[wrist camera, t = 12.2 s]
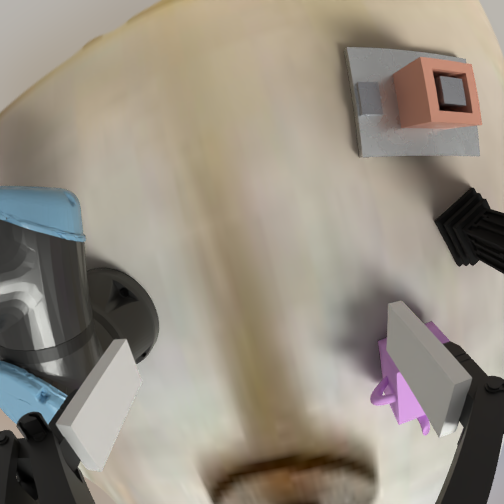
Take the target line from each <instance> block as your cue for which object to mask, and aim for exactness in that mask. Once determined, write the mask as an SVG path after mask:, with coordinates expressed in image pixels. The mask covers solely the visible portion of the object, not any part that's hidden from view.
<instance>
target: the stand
mask: <svg viewBox="0 0 504 504" xmlns="http://www.w3.org/2000/svg"><path fill="white" fill-rule="evenodd" d="M344 54H345V59H346V65H347V71H348V76H349V82H350V89H351V95H352V102H353V109H354V116H355V124H356V132H357V141H358V150H359V157H381V156H480V150H479V139H478V129H477V126H468V127H460V128H451V129H431V128H401V123H400V116H399V109H398V102H397V96H396V90H395V84H394V79H393V74H394V73H395V72H397V71H398V70H400V69H401V68H403V67H405V66H406V65H408V64H409V63H411V62H412V61H414V60H416V59H417V58H419V57H427V58H435V59H442V60H449V61H455V62H461V63H466V59H463V58H457V57H452V56H446V55H439V54H432V53H425V52H417V51H407V50H397V49H384V48H365V47H346V49H345V50H344ZM434 81H435V86H436V92H437V98H438V104H439V111H444V110H449V109H453V108H457V107H462V106H466V100H465V94H464V88H463V82H462V79H459V78H452V77H444V76H439V77H436V78H434Z"/></svg>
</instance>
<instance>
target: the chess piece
mask: <svg viewBox="0 0 504 504" xmlns="http://www.w3.org/2000/svg"><path fill="white" fill-rule="evenodd" d="M434 222H435V223H436V225H437V227H438V229H439V231H440V233H441V234H442V236H443V238H444V240H445V242H446V244H447V246H448V248H449V250H450V252H451V254H452V256H453V258H454V260H455V262H456V264H457V265H458V266H461V265H462V264H463V265H465V266H467V265H468V264H469V263H470V264H471V265H473V266H474V265H475V264H476V263H477V262H478V261H479V260H480V261H482V262H484V263H486V264H487V265H489V266H491V267H493V268H495V269H496V270H498V271H500V272H502V273H503V274H504V213H501V212H498V211H495V210H491V209H490V207H489V204H488V202H487V200H486V199H482V196H481V194H480V193H476V191H475V189H474V188H470V189H469V190H468V191H467V192H466V193H465V194H464V195H463V196H462V197H461V198H460V199H459V200H458V201H456V202H455V203H454V204H453V205H452V206H451V207H450V208H449V209H448V210H447V211H445V212H444V213H443V214H442V215H441V216H440V217H439V218H438V219H436V220H435V221H434Z"/></svg>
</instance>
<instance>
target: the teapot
mask: <svg viewBox="0 0 504 504" xmlns="http://www.w3.org/2000/svg"><path fill="white" fill-rule="evenodd" d="M425 326H426V327H427V328H428V329H429V330H430V331H431V332H432V333H433V334H434V335H435V336H436V337H437V339H438V340H439V341H440V342H441V343H442V344H443V343H447V342H450V341H449V339H448V338H447V337H446V336H445V335H444V334H443V333H442V332H441V331H440V330H439V328H438V327H437V326H436V325H435V324H434V323H433V322H432V321H431V322H428V323H426V324H425ZM378 346H379V353H380V361H381V369H382V378H383V380H382V381H381V382H380V383H379V384H378V385H377V387H376V388H375V389H374V391H373V392H372V395H371V398H370V400H371V403H372V404H374V405H385V404H390V406H391V408H392V411H393V413H394V415H395V417H396V420H397V422H398V424H399V425H400V424H402V423H405V422H407V421H410V420H413V419H415V418H417V419H418V421H419V423H420V425H421V428H422V432H423V435H427V434H428V433H429V430H430V425H429V419H428V418H427V416H426V414H425V412H424V411H423V409H422V407H421V406H420V404H419V402H418V401H417V399H416V397H415V396H414V394H413V392H412V391H411V389H410V387H409V386H408V384H407V382H406V381H405V379H404V378H403V376H402V374H401V373H400V371H399V370H398V368H397V366H396V365H395V363H394V362H393V360H392V358H391V357H390V355H389V354H388V352H387V350H386V346H387V338H385V339H382V340H379V341H378ZM383 391H384V393H385V395H384V396H382V394H383Z"/></svg>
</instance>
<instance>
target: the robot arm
mask: <svg viewBox="0 0 504 504" xmlns="http://www.w3.org/2000/svg"><path fill="white" fill-rule="evenodd" d="M84 241H86V238H85V235H84V234H83V227H82V218H81V207H80V203H79V200H78V198H77V197H76V195H75V194H74V193H72V192H71V191H69V190H67V189H61V188H51V187H32V186H0V408H1V409H2V410H3V412H4V413H5V414H6V415H7V416H8V417H9V418H10V419H11V420H12V421H13V422H15V423H16V424H17V428H18V429H19V431H20V432H21V433H22V435H23V436H24V438H20V439H17V438H16V437H15V435H14V434H13V432H12V431H10V430H4V431H1V432H0V504H95V502H94V500H93V498H92V496H91V493H90V491H89V489H88V487H87V484H86V482H85V480H84V477H83V475H82V472H81V471H80V469H79V468H78V465H79V463H80V461H81V462H82V463H83V465H84V466H85V467H86V469H87V470H93V471H99V472H102V470H103V468H104V466H105V463H106V461H107V459H108V456H109V454H110V452H111V450H112V447H113V445H114V443H115V440H116V438H117V436H118V434H119V432H120V429H121V427H122V425H123V423H124V420H125V418H126V416H127V414H128V412H129V409H130V407H131V405H132V403H133V401H134V399H135V396H136V394H137V392H138V390H139V388H140V386H141V384H142V382H143V381H142V378H141V376H140V373H139V371H138V368H137V366H136V364H138V363H139V362H141V361H142V360H143V359H145V358H146V356H147V355H148V354H149V353H150V351H151V350H152V348H153V346H154V344H155V342H156V340H157V337H158V333H159V320H158V315H157V311H156V309H155V306H154V304H153V302H152V300H151V298H150V297H149V295H148V294H147V293H146V291H145V290H144V289H143V288H142V287H141V286H140V285H139V284H138V283H137V282H136V281H135V280H133V279H132V278H131V277H129V276H127V275H126V274H124V273H122V272H119V271H116V270H113V269H108V268H97V269H92V270H89V271H86V260H85V246H84ZM386 350H387V352H388V354H389V355H390V357H391V358H392V360H393V362H394V363H395V365H396V366H397V368H398V370H399V371H400V373H401V374H402V376H403V378H404V379H405V381H406V382H407V384H408V386H409V387H410V389H411V391H412V392H413V394H414V396H415V397H416V399H417V401H418V402H419V404H420V406H421V407H422V409H423V411H424V412H425V414H426V416H427V418H428V419H429V421H430V423H431V424H432V426H433V428H434V430H435V431H436V433H437V435H438V437H439V438H440V437H443V436H445V435H448V434H450V433H453V432H455V431H456V429H457V426H458V423H459V421H460V423H461V424H462V426H463V427H464V428H463V431H462V433H461V436H460V439H459V441H458V444H457V445H458V446H457V449H456V452H455V455H454V458H453V461H452V464H451V466H450V469H449V472H448V474H447V477H446V479H445V482H444V484H443V487H442V489H441V492H440V494H439V496H438V499H437V501H436V503H435V504H487V500H488V497H489V493H490V490H491V486H492V483H493V479H494V475H495V471H496V467H497V462H498V458H499V454H500V449H501V443H502V438H503V434H504V379H502V378H500V377H497V376H487V374H486V373H485V372H484V371H483V370H482V369H481V368H480V367H479V366H478V365H477V364H476V363H475V362H474V360H473V359H471V357H470V356H469V355H468V354H466V352H465V351H464V350H463V349H462V348H461V347H460V346H459V345H457V344H455V343H453V342H451V341H450V342H447V343H443V344H442V343H441V342H440V341H439V340H438V339H437V337H436V336H435V335H434V334H433V333H432V332H431V331H430V330H429V329H428V328H427V327H426V326H425V324H424V323H423V322H422V321H421V320H420V319H419V318H418V317H417V316H416V315H415V314H414V313H413V312H412V311H411V310H410V309H409V308H408V307H407V306H406V304H405V303H404V302H403V301H397V302H393V303H388V322H387V346H386ZM16 476H17V478H16Z"/></svg>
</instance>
